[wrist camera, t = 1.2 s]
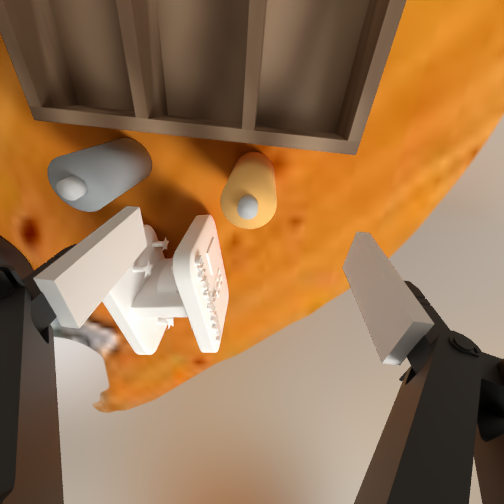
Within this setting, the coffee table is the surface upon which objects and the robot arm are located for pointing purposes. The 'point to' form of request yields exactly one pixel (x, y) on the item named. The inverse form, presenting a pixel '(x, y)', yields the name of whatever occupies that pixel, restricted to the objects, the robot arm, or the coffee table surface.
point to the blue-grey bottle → (99, 173)
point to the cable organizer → (173, 290)
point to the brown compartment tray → (205, 66)
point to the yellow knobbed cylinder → (250, 192)
